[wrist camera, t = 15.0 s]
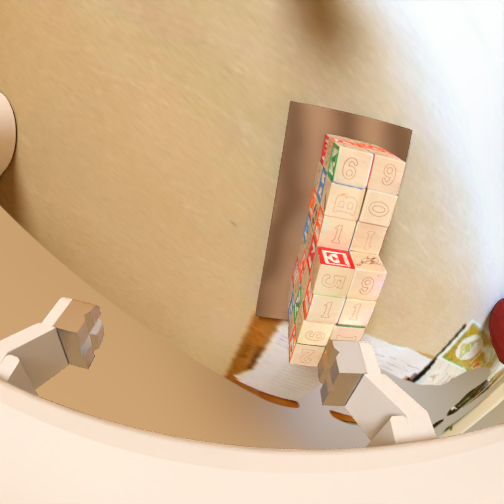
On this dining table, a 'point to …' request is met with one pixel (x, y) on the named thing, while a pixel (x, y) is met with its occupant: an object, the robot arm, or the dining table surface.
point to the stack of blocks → (341, 246)
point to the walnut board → (309, 188)
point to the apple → (498, 329)
